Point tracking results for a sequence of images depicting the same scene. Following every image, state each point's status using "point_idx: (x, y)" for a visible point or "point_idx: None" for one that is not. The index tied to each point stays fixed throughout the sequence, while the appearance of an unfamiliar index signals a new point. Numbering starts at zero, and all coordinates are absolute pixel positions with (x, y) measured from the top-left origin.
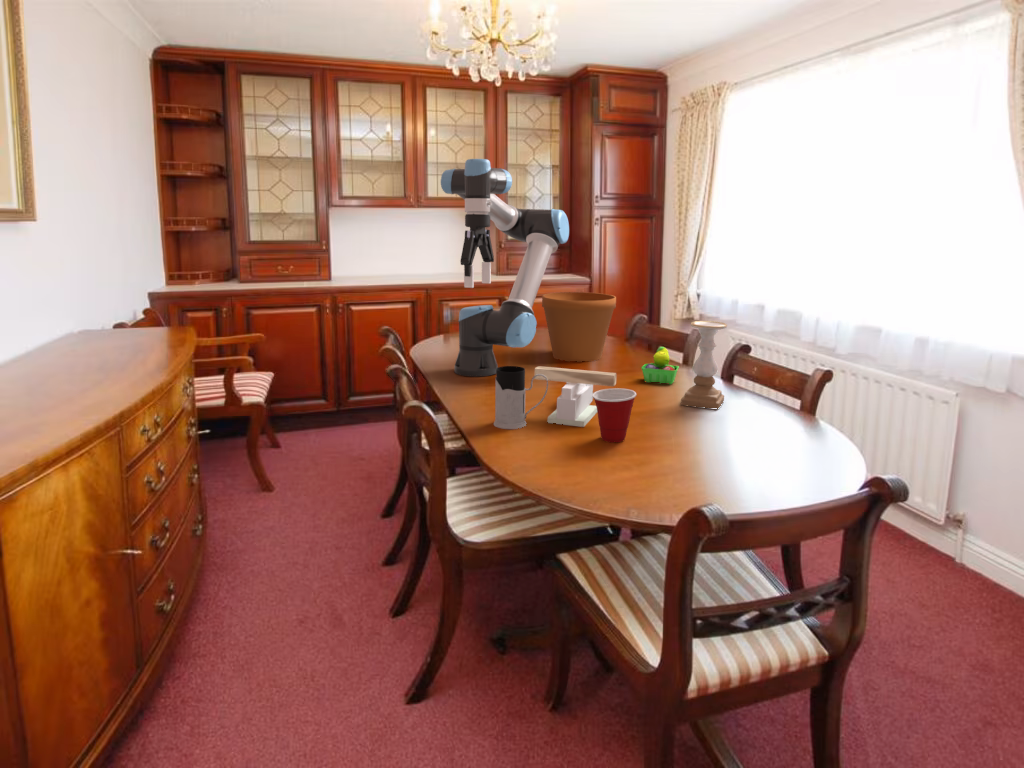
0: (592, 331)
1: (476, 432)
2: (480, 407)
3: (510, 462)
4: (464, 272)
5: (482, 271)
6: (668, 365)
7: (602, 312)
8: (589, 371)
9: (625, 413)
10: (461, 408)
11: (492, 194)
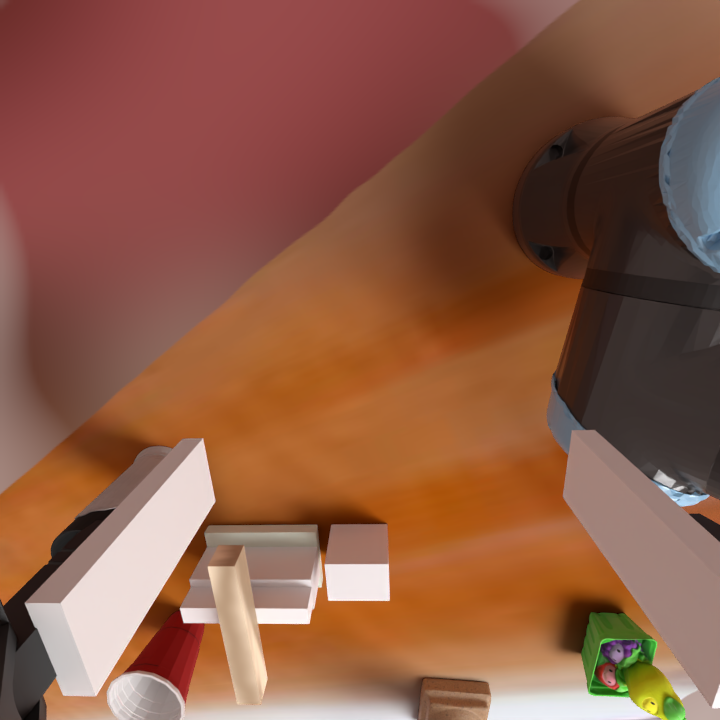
0: None
1: (87, 439)
2: (233, 380)
3: (6, 533)
4: (100, 529)
5: (638, 508)
6: (623, 687)
7: None
8: (246, 663)
9: (149, 689)
10: (204, 346)
11: None
